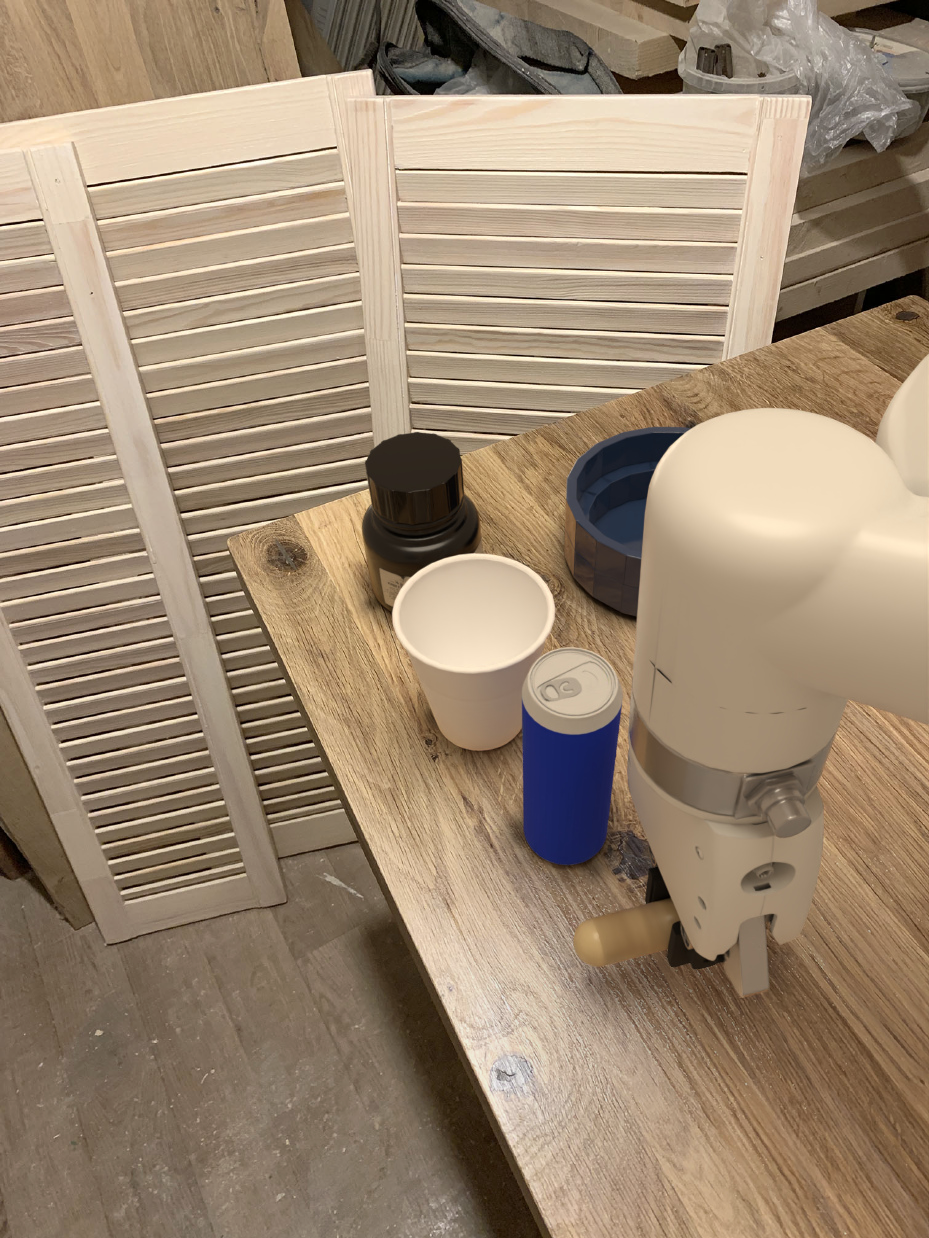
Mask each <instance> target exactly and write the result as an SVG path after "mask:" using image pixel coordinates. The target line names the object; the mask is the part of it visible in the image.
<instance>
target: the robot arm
mask: <svg viewBox="0 0 929 1238" xmlns="http://www.w3.org/2000/svg"><path fill="white" fill-rule="evenodd" d="M877 429H878V430H877V434H876V437H875V441H874V440H872V439H871V438H870V437H869V436H867V435H866V434H864V433H862V432H860V431H859V430H856V429H855V428H853V427H851V426H850V425H848V424H846V423H843V422H842V421H839V420H837V419H834V418H832V417H829V416H825V415H821V414H818V413H815V412H811V411H805V410H800V409H793V408H782V407H778V408H777V407H761V408H760V407H759V408H750V409H742V410H737V411H733V412H728V413H724V414H721V415H718V416H716V417H712V418H710V419H707V420H705V421H702V422H701V423H698V424H696V425H695V426H693V427H692V429H690V430H689V431H687V432H686V433H685V434H683V435H682V436H681V437H680V438H679V439H678V440H677V441H675V442H674V443H673V444H672V445H671V446H670V447H669V448H668V450H667V451H666V453H665V454H664V455H663V457H662V458H661V460H660V461H659V463H658V464H657V466H656V469H655V471H654V474H653V476H652V478H651V481H650V484H649V489H648V495H647V502H646V509H645V519H644V532H643V546H642V559H641V572H640V585H639V599H638V612H637V617H636V626H635V640H634V651H633V652H634V653H633V663H632V677H631V692H630V704H629V714H628V715H629V717H628V727H627V728H628V729H627V741H628V750H627V761H626V762H627V763H626V765H627V766H626V774H627V776H626V777H627V786H628V790H629V794H630V797H631V800H632V803H633V806H634V809H635V812H636V814H637V817H638V820H639V823H640V825H641V827H642V829H643V832H644V835H645V838H646V840H647V844H646V846H647V847H646V848H647V853H648V857H649V860H650V862H651V864H652V866H653V867H649V868H648V873H647V881H646V889H645V896H644V904H648V903H652V902H656V901H659V900H663V899H667V898H671V899H672V901H673V903H674V906H675V908H676V910H677V913H678V915H679V918H680V920H681V921H677V922H675V923H674V924H673V925H672V928H671V934H670V940H669V945H668V950H666V951H667V952H666V956H665V957H666V960H667V962H668V965H669V967H670V968H671V969H673V968H679V967H682V966H687V965H690V967H691V969H692V970H695V971H698V970H699V971H700V970H704V969H707V968H712V967H714V966H716V965H719V964H723V970H724V973H725V974H726V976H727V978H728V980H729V981H730V982H731V985H732V986H733V988H734V990H735V991H736V992H737V994H738V996H739V997H740V998H741V999H743V998H747V997H751V996H755V995H758V994H763V993H766V992H769V990H770V976H769V960H768V958H769V957H768V943H767V941H768V940H767V924H766V922H769V923H768V924H769V925H770V927H769V931H770V933H771V935H772V936H773V938H774V939H775V941H776V942H777V944H778V945H779V946H781V945H783V944H786V943H790V942H792V941H794V940H797V939H798V938H799V937H800V935H801V933H802V931H803V929H804V927H805V925H806V922H807V919H808V916H809V913H810V910H811V907H812V903H813V900H814V896H815V893H816V889H817V884H818V879H819V874H820V870H821V865H822V864H821V863H822V857H823V849H824V833H825V813H824V812H825V810H824V809H825V808H824V807H825V805H824V801H823V798H822V796H821V792H820V790H819V787H818V784H819V782H820V781H821V777H822V776H823V773H824V769H825V768H826V767H825V766H826V764H827V762H828V759H829V757H830V756H829V755H830V753H831V750H832V748H833V745H834V741H835V738H836V735H837V733H838V730H839V728H840V725H841V720H842V718H843V715H844V712H845V710H846V707H847V704H848V701H852V702H854V703H858V704H862V705H865V706H867V707H871V708H874V709H877V710H879V711H883V712H886V713H890V714H892V715H896V716H898V717H901V718H905V719H908V720H911V721H914V722H917V723H920V724H923V725H926V726H929V353H928V354H927V355H925V357H924V358H922V360H920V362H919V363H918V364H917V366H916V367H915V368H914V369H913V370H912V371H911V373H910V374H909V376H907V377H906V379H905V380H904V381H903V383H902V384H901V385H900V386H899V388H898V389H897V390H896V392H895V393H894V395H893V397H892V398H891V400H890V402H889V404H888V405H887V408H886V410H885V411H884V413H883V415H882V417H881V420H880V422H879V425H878V428H877Z"/></svg>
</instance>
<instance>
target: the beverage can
mask: <svg viewBox="0 0 929 1238" xmlns="http://www.w3.org/2000/svg"><path fill="white" fill-rule="evenodd" d="M623 698H624V694H623V688H622V685H621V681H620V679H619V677H618V675H617V672H616V671H615V669H614V667H613V665H611V663H610V662H609V661H608V660H607V659H606V658H604V657H603V656H601V655H600V654H598V653H596V652H594V651H592V650H589V649H586V648H582V647H573V646H570V647H569V646H567V647H560V648H555V649H552V650H550V651H547V652H546V653H544V654H542V656H541V657H540V658H538V659H537V660H536V661H535V663H534V664H533V665H532V667H531V669H530V671H529V673H528V675H527V676H526V678H525V681H524V683H523V687H522V728H521V734H522V735H521V739H522V740H521V744H522V745H521V746H522V747H521V748H522V749H521V750H522V752H521V753H522V809H523V810H522V813H523V814H522V816H523V817H522V820H523V821H522V823H523V825H522V827H523V835H524V838H525V840H526V842H527V844H528V846H529V848H530V849H531V850H532V851H533V852H534V853H535V854H536V855H537V856H538V857H540V858H541V859H543V860H545V861H547V862H550V863H552V864H555V865H563V866H572V865H578V864H582V863H585V862H587V861H589V860H590V859H592V858H594V857H595V856H596V855H597V854H598V853H599V852H600V851H601V849H602V848H603V846H604V845H605V842H606V840H607V836H608V829H609V818H610V811H611V810H610V809H611V801H612V793H613V784H614V777H615V768H616V759H617V749H618V742H619V734H620V726H621V717H622V709H623V708H622V707H623V700H624V699H623Z"/></svg>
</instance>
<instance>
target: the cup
mask: <svg viewBox="0 0 929 1238" xmlns="http://www.w3.org/2000/svg"><path fill="white" fill-rule="evenodd" d="M391 617H392V627H393V630H394V634H395V637H396V638H397V640H398V641H399V643H400V644H401V646H402V647H403V648H404V650H405V651H406V653H407V656H408V658H409V660H410V663H411V665H412V667H413V670H414V672H415V674H416V676H417V679H418V681H419V684H420V687H421V690H422V691H423V694H424V696H425V699H426V701H427V703H428V705H429V707H430V710H431V712H432V715H433V718H434V720H435V722H436V725H437V727H438V729H439V731H440V732H441V734H442V736H444V737H445V739H447V741H449V742H451V743H452V744H453V745H455V746H457V747H460V748H461V749H465V750H470V751H479V752H480V751H482V752H483V751H491V750H493V749H497V748H500V747H502V746H504V745H506V744H508V743H510V742H511V741H513V739H515V737H516V736H517V735H518V734H519V733H520V732H521V731H522V687H523V683H524V681H525V678H526V676H527V675H528V673H529V671H530V669H531V667H532V665H533V664H534V663H535V661H536V660H537V659H538V658H540V657H541V656H542V655H543V653H544V649H545V646H546V642H547V639H548V638H549V636H550V634H551V632H552V629H553V627H554V624H555V620H556V604H555V601H554V596H553V593H552V592H551V590H550V588H549V585H548V584H547V583H546V582H545V581H544V579H543V578H542V577H541V576H540V574H538V573H536V572H535V570H533V569H532V568H530V567H529V566H527V565H525V564H523V563H521V562H520V561H517V560H515V559H512V558H508V557H506V556H502V555H496V554H493V553H483V554H475V553H473V554H463V555H457V556H452V557H448V558H444V559H442V560H439V561H437V562H434V563H432V564H430V565H428V566H426V567H425V568H423V569H421V570H419V571H418V572H417V573H416V574H415V575H413V576H412V577H411V578H410V579H409V580H408V581H407V582H406V583H405V585H404V586H403V587H402V588H401V589H400V591H399V593H398V595H397V597H396V599H395V602H394V607H393V611H392V612H391Z"/></svg>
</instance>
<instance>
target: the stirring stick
mask: <svg viewBox="0 0 929 1238" xmlns="http://www.w3.org/2000/svg"><path fill="white" fill-rule="evenodd" d="M677 921H681V920H680V918H679V915H678V913H677V910H676V908H675V906H674V903H673V901H672V899H671V898H667V899H663V900H659V901H656V902H652V903H648V904H646V903H644V904H640V905H636V906H632V907H629V908H628V907H627V908H624V909H620V910H616V911H613V912H609V913H605V914H602V915H597V916H593V917H589V918H587V919H585V920H583V921H582V922H580V924H578V926H577V927H576V929H575V931H574V934H573V937H572V939H573V941H572V942H573V943H572V944H573V949H574V951H575V953H576V956H577V957H578V958H579V959H580V960H581V961H582V962H583V963H585V964H586V965H587V966H590V967H595V968H600V967H606V966H610V965H615V964H617V963H622V962H625V961H629V960H632V959H633V960H634V959H637V958H642V957H644V956H649V955H652V954H656V953H660V952H664V951H668V945H669V940H670V934H671V928H672V925H673V924H674V923H675V922H677ZM767 924H770V923H769V922H766V925H767Z"/></svg>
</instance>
